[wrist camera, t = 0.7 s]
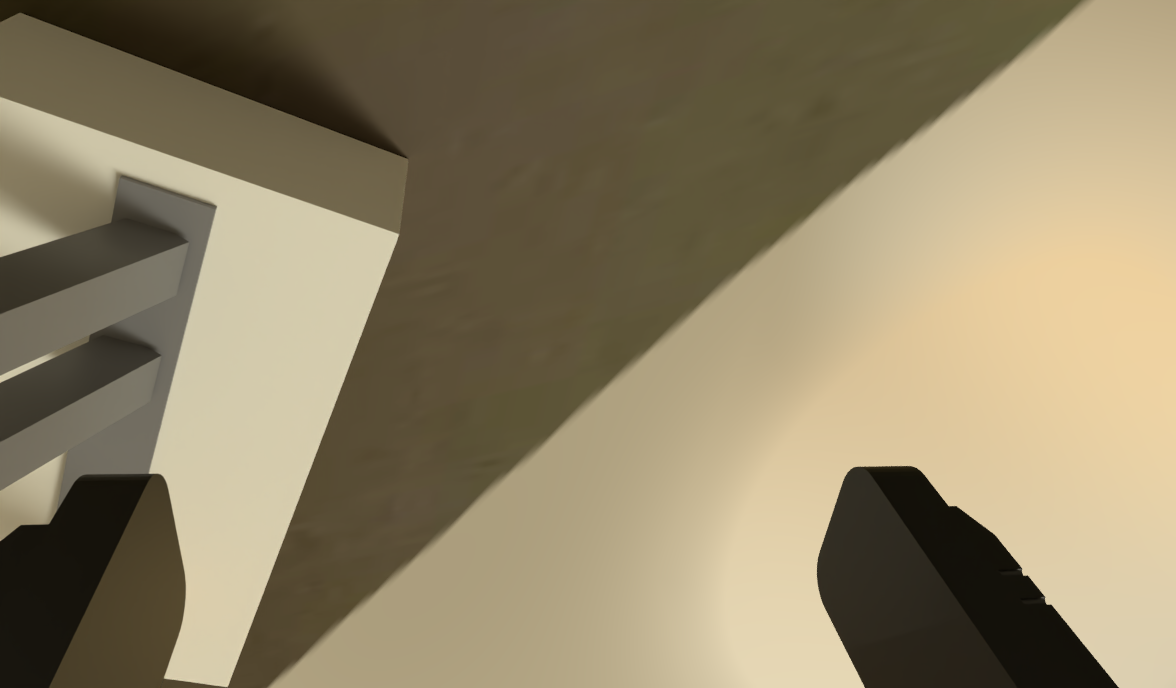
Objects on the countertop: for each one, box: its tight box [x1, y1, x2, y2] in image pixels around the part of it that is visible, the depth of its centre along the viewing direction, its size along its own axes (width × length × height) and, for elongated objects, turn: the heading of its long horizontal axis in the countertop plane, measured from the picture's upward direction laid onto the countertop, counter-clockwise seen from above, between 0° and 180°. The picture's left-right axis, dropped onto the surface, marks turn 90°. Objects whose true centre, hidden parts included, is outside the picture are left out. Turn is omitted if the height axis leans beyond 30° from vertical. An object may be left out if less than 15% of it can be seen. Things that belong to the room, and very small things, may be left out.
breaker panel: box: [0, 13, 408, 687], centre depth 27 cm, size 22×12×12 cm, turn 154°
